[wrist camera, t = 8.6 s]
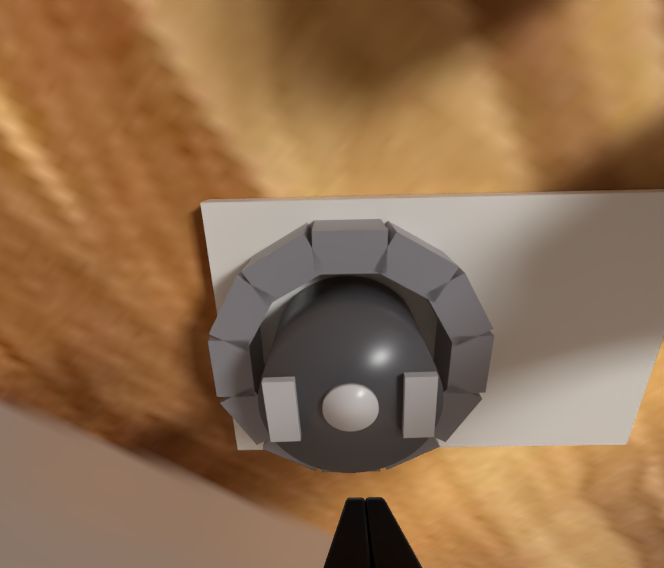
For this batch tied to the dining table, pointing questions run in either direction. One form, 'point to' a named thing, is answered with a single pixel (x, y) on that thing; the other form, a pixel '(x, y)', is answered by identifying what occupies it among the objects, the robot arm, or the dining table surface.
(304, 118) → the dining table surface
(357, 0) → the dining table surface
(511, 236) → the plate
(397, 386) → the cap
